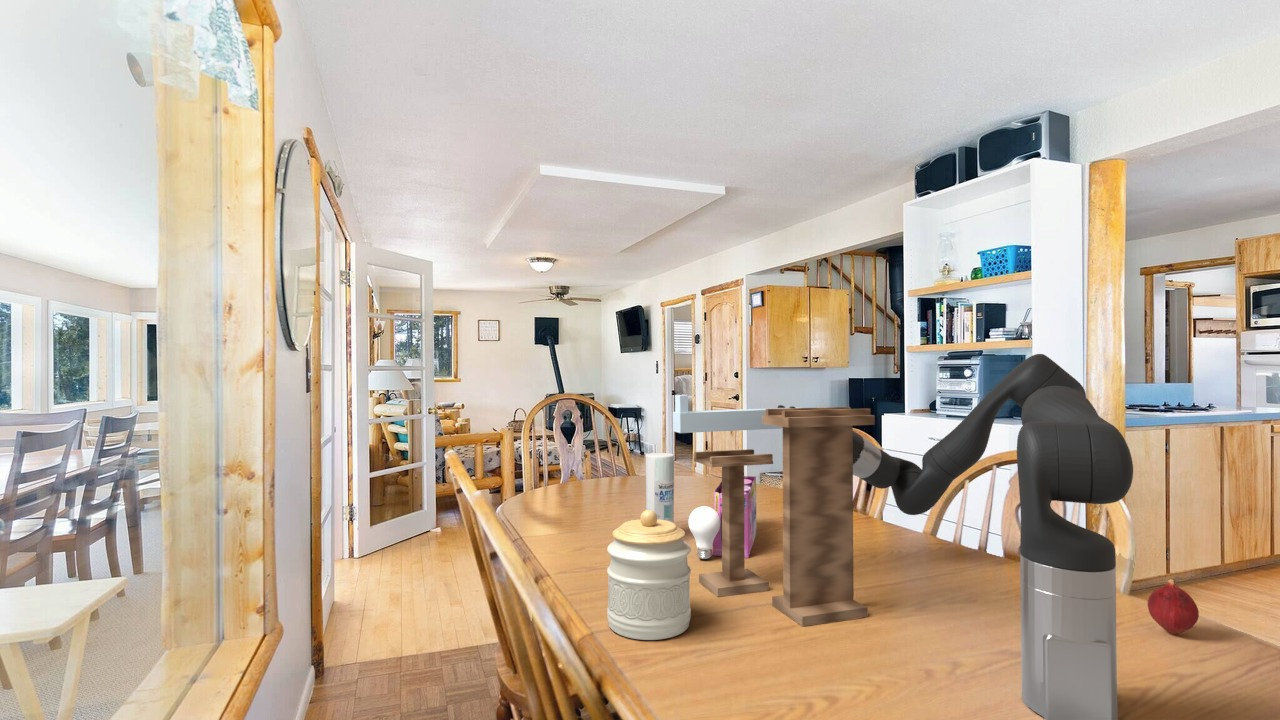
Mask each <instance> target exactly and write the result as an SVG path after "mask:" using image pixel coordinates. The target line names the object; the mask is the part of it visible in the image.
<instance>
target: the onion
mask: <svg viewBox="0 0 1280 720" xmlns="http://www.w3.org/2000/svg"><path fill="white" fill-rule="evenodd" d="M1147 608H1148V613H1149V615H1150V616H1151V618H1152V620H1153V621H1154V622H1156V624H1158V626H1160V627H1161V628H1163V630H1165V631H1166V632H1167V633H1169V634H1171V635H1178V634H1180V633H1184V632H1186V631H1188V630H1190V629H1192V628H1193V627H1194V626H1195V625H1196V624H1197V623H1198V621H1199V615H1200V613H1199V612H1200V611H1199V609H1198V605H1197V603H1196V602H1195V600H1194V599H1193V598H1192V596H1190V594H1189V593H1187V592H1186V591H1185V590H1184V589H1182V588H1181V587H1179V586H1178V585H1177V581H1175V580H1174V579H1171V578H1170V579H1169V580H1167V583H1166V584H1165V585H1164V586H1161V587H1158V588H1157V589H1155V590H1153V591H1152V592H1151V594H1150V595H1149V597H1148V599H1147Z"/></svg>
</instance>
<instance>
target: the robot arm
mask: <svg viewBox="0 0 1280 720" xmlns="http://www.w3.org/2000/svg"><path fill="white" fill-rule="evenodd" d="M1009 400H1011V401H1013V402H1014V403H1015V404H1017V405H1018V406H1019V407H1021V414H1020V417H1021V425H1022V426H1021V427H1020V429H1019V431H1018V433H1017V434H1018V435H1017V439H1016V440H1017V442H1016V461H1017V462H1016V463H1017V464H1016V466H1017V476H1018V477H1017V478H1018V479H1017V480H1018V493H1019V503H1020V504H1019V505H1020V546H1019V548H1020V550H1019V551H1020V552H1019V553H1020V554H1019V556H1020V557H1019V558H1020V570H1019V571H1020V583H1019V584H1020V657H1021V658H1020V660H1021V661H1020V662H1021V663H1020V665H1021V699H1022V701H1023V703H1024V704H1025V705H1026V707H1027V708H1028V709H1030V710H1032V711H1033V712H1035V713H1037V714H1038V715H1039V716H1041V717H1042V718H1043V719H1044V720H1118V676H1117V675H1118V673H1117V672H1118V670H1117V669H1118V668H1117V667H1118V664H1117V663H1118V662H1117V661H1118V660H1117V659H1118V657H1117V581H1116V580H1117V577H1116V576H1117V574H1116V573H1117V572H1116V571H1117V570H1116V569H1117V567H1116V564H1117V563H1116V562H1117V561H1116V557H1117V553H1116V548H1115V544H1114V543H1113V542H1112V541H1111V540H1110V539H1109V538H1108V537H1106V536H1104V535H1102V534H1101V533H1098V532H1096V531H1093V530H1090V529H1087V528H1086V527H1083V526H1080V525H1077V524H1075V523H1073V522H1072V521H1069V520H1068V519H1067V518H1064V517H1063V516H1061V515H1060V514H1059V513H1057V512H1056V511H1055V510H1054V509H1053V508H1052V506H1051V503H1052V502H1053V501H1056V502H1065V503H1076V504H1077V503H1078V504H1089V505H1090V504H1092V505H1108V504H1113V503H1117V502H1119V501H1121V500H1122V499H1123V498H1124V497H1125V496H1127V494H1128V493H1129V491H1130V489H1131V487H1132V483H1133V478H1134V464H1133V463H1134V462H1133V457H1132V454H1131V451H1130V448H1129V446H1128V442H1127V441H1126V440H1125V438H1124V436H1123V434H1122V433H1121V431H1120V430H1119V429H1118V428H1117V427H1116V426H1114V425H1113V424H1112V423H1110V422H1108V421H1107V420H1105V419H1104V418H1102V417H1101V416H1100V415H1099V413H1098V412H1097V410H1096V408H1095V407H1094V405H1093V404H1092V403H1091V401H1090V400H1089V399H1088V398H1087V393H1086V391H1085V388H1084V386H1083V385H1082V383H1080V381H1078V380H1077V379H1076V378H1075V377H1073V376H1072V375H1071V374H1069V372H1067V370H1065V369H1063V368H1062V367H1061V366H1060V365H1058V363H1057V362H1055V361H1054V360H1053V359H1051V358H1050V357H1049V356H1047V355H1046V354H1043V353H1035V354H1033V355H1031V356H1029V357H1028V358H1026V359H1024V360H1022V362H1020V363H1019V364H1017V365H1016V366H1015V367H1014V368H1013V369H1011V371H1010V372H1008V373H1007V374H1006V375H1005V377H1004V378H1003V379H1001V381H999V382H998V383H997V384H996V385H995V386H994V387H993V388H992V389H991V391H990V392H989V393H988V394H986V395H985V397H983V398H982V399H981V401H979V403H978V404H977V405H976V406H975V407H974V408H972V410H971V411H970V412H969V413H968V415H966V416H965V418H964V419H962V421H961V422H960V423H958V425H957V426H955V428H954V429H952V430H951V432H949V433H948V434H947V435H945V436H944V437H943V438H942V439H940V440H939V441H938V442H937V443H936V444H935V445H933V446H932V447H930V449H928V450H927V451H926V452H925V453H924V454H923V456H922V459H921V462H922V463H921V465H922V468H921V467H920V466H919V465H917V463H914V462H912V461H910V460H907V459H903V458H900V457H897V456H892V455H890V454H889V453H887V452H885V451H884V450H883V449H881V448H880V447H878V446H876V444H874V443H873V442H872V441H870V440H869V439H867V438H866V437H864V436H863V435H862V434H860V433H858V432H856V431H855V430H853V476H855V477H857V478H859V479H861V480H862V481H864V482H865V483H867V484H869V485H870V486H872V487H875V488H877V489H881V490H883V489H887V488H891V491H892V494H893V498H894V501H895V504H896V505H897V506H896V507H897V508H898V509H899V510H900V511H901V512H902V513H904V514H906V515H908V516H917V515H922V514H925V513H927V512H928V511H930V510H931V509H932V508H933V507H935V506H936V504H937V503H938V502H939V501H940V499H941V498H942V497H943V495H944V493H946V491H947V490H948V489H949V487H950V486H951V485H952V482H953V481H955V480H956V479H957V478H958V477H961V476H962V474H963V473H965V472H967V471H968V470H969V469H971V468H972V467H973V466H975V465H976V463H978V462H979V461H980V459H981V458H982V457H983V455H984V453H985V452H986V449H987V447H988V444H989V440H990V436H991V431H992V429H993V425H994V423H995V419H996V417H997V416H998V415H997V414H998V413H999V412H1000V410H1001V408H1003V406H1004V405H1005V404H1006V403H1007V402H1008V401H1009ZM795 407H796V406H788V408H795ZM776 408H787V407H786V406H784V405H778V406H777V407H776Z"/></svg>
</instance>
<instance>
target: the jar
mask: <svg viewBox="0 0 1280 720" xmlns="http://www.w3.org/2000/svg"><path fill="white" fill-rule="evenodd" d="M612 537H613V538H614V540H613V541H612V542H610V543H609V544H608V546H607V548H606V550H607V553H608V554H609V556H610V563H609V566H607V568H606V572H607V575H608V576H607V577H608V578H607V579H608V580H607V584H608V586H607V587H608V589H607V590H608V591H607V592H608V596H607V598H608V600H607V601H608V602H607V604H608V605H607V608H606V613H607V615H606V617H607V620H608V626H609V628H610V630H612V631H613V633H614V632H615V633H616V634H618V635H620V636H622V637H625V638H629V639H634V640H642V641H656V640H666V639H671V638H674V637H677V636H679V635H681V634H683V633H685V631H687V630H688V629H689V626H690V621H691V617H692V616H691V611H692V608H691V605H690V604H691V603H690V602H691V598H690V596H691V595H690V587H691V586H690V580H691V579H690V575H691V573H692V571H691V567H690V566H689V565H688V563H689V562H688V555H690V553H691V551H692V548H691V546H690V544H688V543H687V542H686V541H684V538H685V537H686V532H685V531H684V529H682V528H681V527H679V526H678V525H676V523H675V522H674V523H673V522H670V521H666V520H660V519H657V515H656V513H655V512H654V511H652V510H646V509H645V510H644V511H642V512H641V515H640V518H639V519H632V520H631V519H630V520H628V521H625V522H623V523H622V524H621V525H620V526H619V527H616V528H615V529H614V530H613V531H612Z"/></svg>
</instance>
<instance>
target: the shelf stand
mask: <svg viewBox="0 0 1280 720" xmlns="http://www.w3.org/2000/svg"><path fill="white" fill-rule="evenodd" d="M765 409H766V408H765ZM875 423H876V419H875V415H874V414H871V408H851V406H836V407H835V406H829V407H828V406H825V407H800V408H789V407H786V408H779V409H766V414H762V424H769V425H775V426H781V427H783V428H782V561H783V562H782V576H783V578H782V579H783V581H782V583H783V584H782V587H783V590H782V593H783V595H782V594H781V595H774V596H772V601H771V602H772V603H771V605H772V607H774V608H775V609H777V610H778V611H780V613H782V614H784V615H785V616H787V618H790V619H791V620H793V621H794V622H795V623H797V624H798V625H799V626H800V627H808V626H814V625H816V626H817V625H821V624H828V623H834V622H835V623H836V622H841V621H848V620H854V619H860V618H861V619H862V618H868V617H869V615H868V611H869V609H868V606H866V605H864V604H862V603H861V602H858V600H855V598H854V595H855V593H854V590H855V589H854V587H855V586H854V579H855V578H854V475H853V431H854V427H853V426H874V425H876V424H875Z"/></svg>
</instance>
